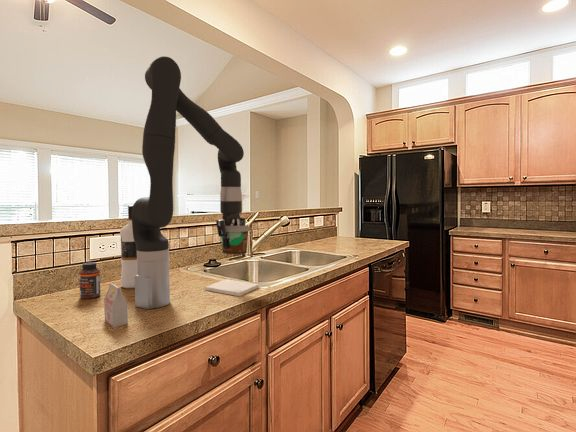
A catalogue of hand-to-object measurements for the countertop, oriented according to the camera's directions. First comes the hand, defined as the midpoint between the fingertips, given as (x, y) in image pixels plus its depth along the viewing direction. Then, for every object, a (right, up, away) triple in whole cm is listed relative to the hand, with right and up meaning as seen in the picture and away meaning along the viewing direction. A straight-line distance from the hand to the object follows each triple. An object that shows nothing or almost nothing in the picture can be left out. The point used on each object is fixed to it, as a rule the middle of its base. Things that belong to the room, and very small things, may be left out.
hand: (231, 247), depth 121 cm
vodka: (-37, -15, +5) cm, 41 cm away
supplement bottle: (-46, -16, -8) cm, 49 cm away
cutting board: (0, -15, +1) cm, 15 cm away
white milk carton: (-26, -18, -30) cm, 44 cm away
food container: (0, -2, 0) cm, 2 cm away
